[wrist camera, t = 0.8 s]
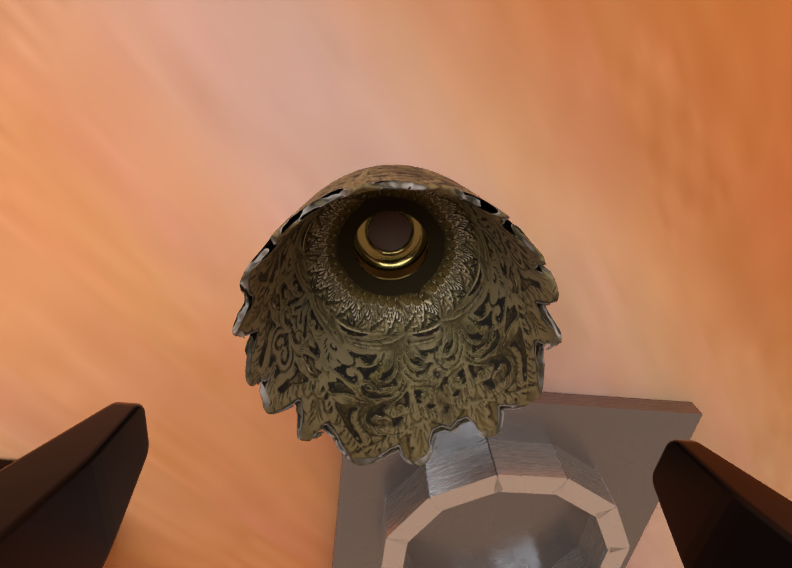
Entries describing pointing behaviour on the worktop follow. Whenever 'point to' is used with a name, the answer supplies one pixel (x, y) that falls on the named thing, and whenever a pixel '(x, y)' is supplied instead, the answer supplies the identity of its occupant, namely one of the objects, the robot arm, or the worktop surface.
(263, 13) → the worktop surface
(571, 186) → the worktop surface
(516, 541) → the cup bracket
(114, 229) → the worktop surface
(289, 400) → the cup
